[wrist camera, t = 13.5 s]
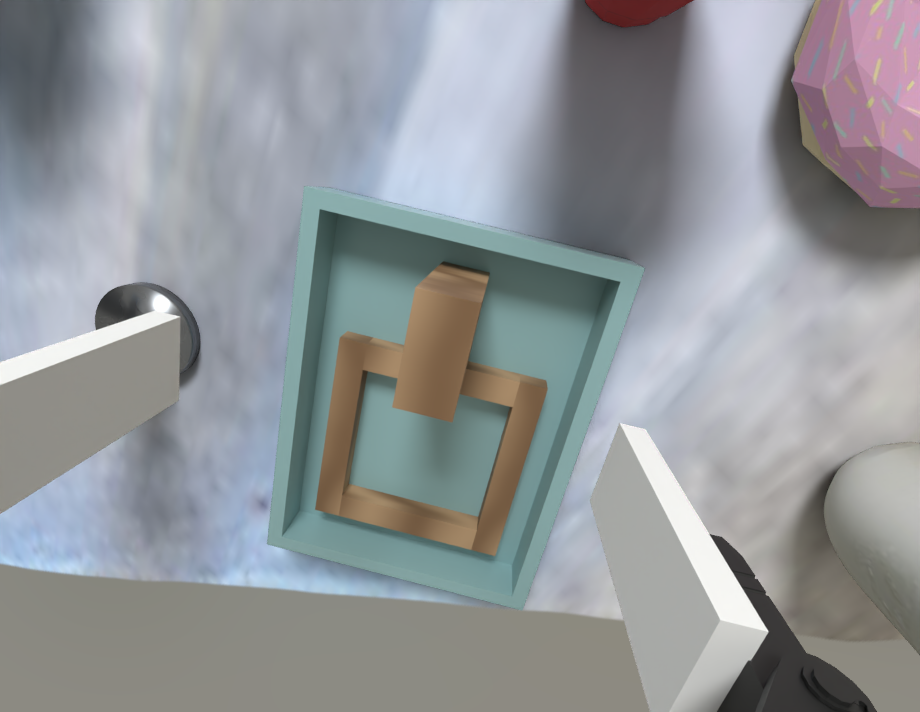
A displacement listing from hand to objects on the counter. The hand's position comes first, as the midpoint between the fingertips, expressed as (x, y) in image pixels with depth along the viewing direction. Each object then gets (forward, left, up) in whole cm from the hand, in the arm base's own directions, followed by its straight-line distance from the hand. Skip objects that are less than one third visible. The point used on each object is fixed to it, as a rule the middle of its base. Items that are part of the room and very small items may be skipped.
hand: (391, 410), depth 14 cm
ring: (0, -8, -17) cm, 19 cm away
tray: (0, -8, -18) cm, 19 cm away
